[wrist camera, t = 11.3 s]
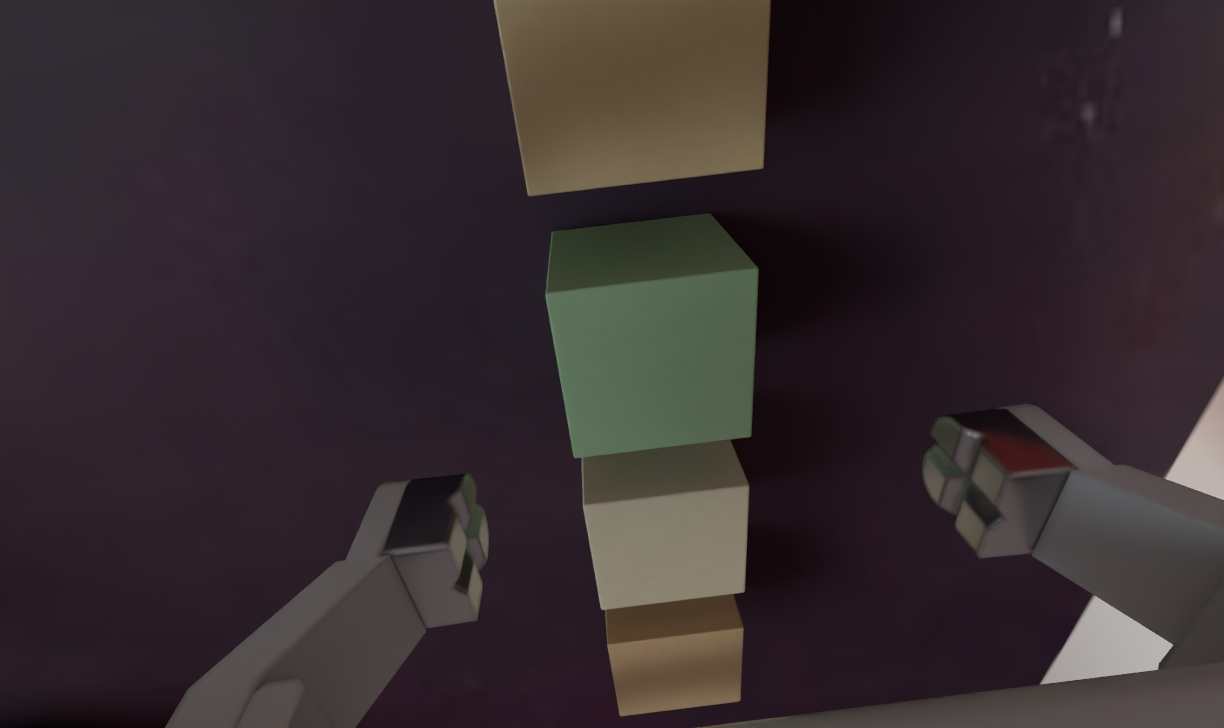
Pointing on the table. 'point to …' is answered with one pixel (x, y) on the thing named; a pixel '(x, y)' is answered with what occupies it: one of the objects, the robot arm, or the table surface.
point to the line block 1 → (635, 89)
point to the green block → (653, 333)
